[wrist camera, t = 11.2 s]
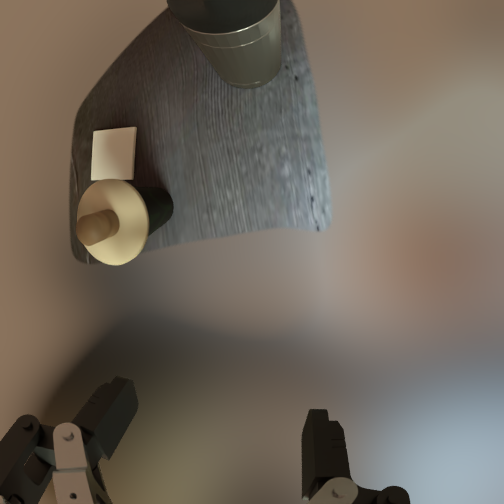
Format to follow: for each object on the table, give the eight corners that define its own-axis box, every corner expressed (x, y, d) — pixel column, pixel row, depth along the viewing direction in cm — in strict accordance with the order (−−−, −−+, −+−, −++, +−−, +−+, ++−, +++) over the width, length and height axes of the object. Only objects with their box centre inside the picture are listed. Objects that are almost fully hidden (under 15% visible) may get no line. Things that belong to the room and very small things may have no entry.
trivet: (95, 131, 38) (93, 131, 37) (136, 127, 37) (134, 126, 36) (93, 179, 40) (91, 180, 39) (133, 179, 39) (131, 179, 39)
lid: (80, 179, 28) (53, 182, 23) (150, 178, 27) (126, 181, 22) (83, 257, 30) (59, 270, 26) (150, 267, 29) (129, 284, 25)
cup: (155, 242, 41) (113, 267, 30) (125, 204, 40) (77, 217, 29) (190, 209, 40) (155, 225, 28) (158, 170, 38) (114, 171, 27)
